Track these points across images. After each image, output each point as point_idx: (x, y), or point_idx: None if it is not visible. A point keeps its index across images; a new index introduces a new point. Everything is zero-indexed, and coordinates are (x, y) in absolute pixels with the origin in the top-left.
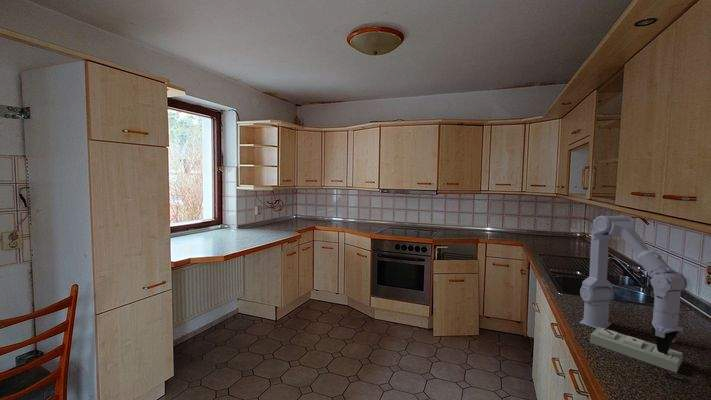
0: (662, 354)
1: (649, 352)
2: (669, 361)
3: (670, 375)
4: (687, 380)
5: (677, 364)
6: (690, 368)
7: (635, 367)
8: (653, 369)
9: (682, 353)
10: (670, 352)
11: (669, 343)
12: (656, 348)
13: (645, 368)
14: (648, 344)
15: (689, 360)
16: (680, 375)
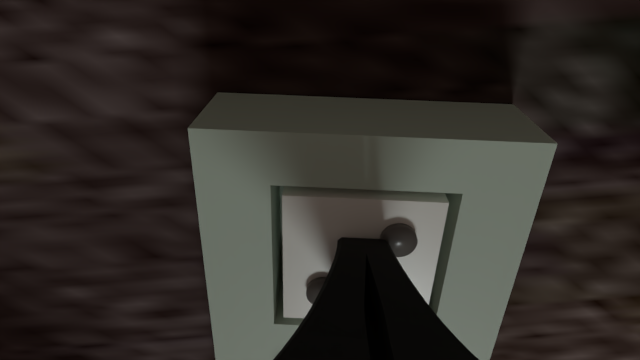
0: (422, 260)
1: (464, 333)
2: (532, 198)
3: (606, 135)
4: (624, 17)
5: (538, 135)
6: (303, 18)
7: (619, 314)
8: (570, 234)
9: (194, 125)
10: (295, 215)
11: (453, 342)
12: (306, 304)
13: (591, 271)
14: (270, 352)
15: (107, 41)
16: (547, 74)
